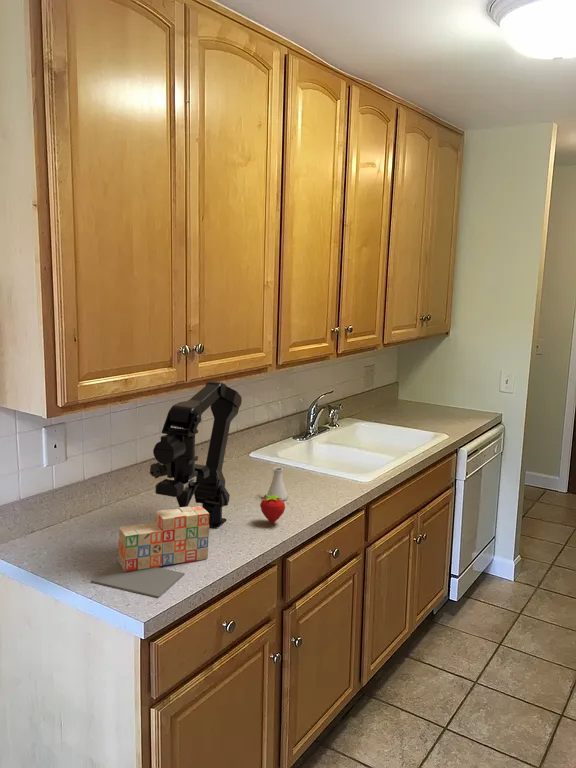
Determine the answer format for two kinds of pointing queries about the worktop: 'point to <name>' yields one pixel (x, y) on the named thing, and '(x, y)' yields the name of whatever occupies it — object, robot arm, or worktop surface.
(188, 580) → the worktop surface
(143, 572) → the mat
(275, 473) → the flask
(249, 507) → the worktop surface
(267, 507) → the strawberry
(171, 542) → the stack of blocks
